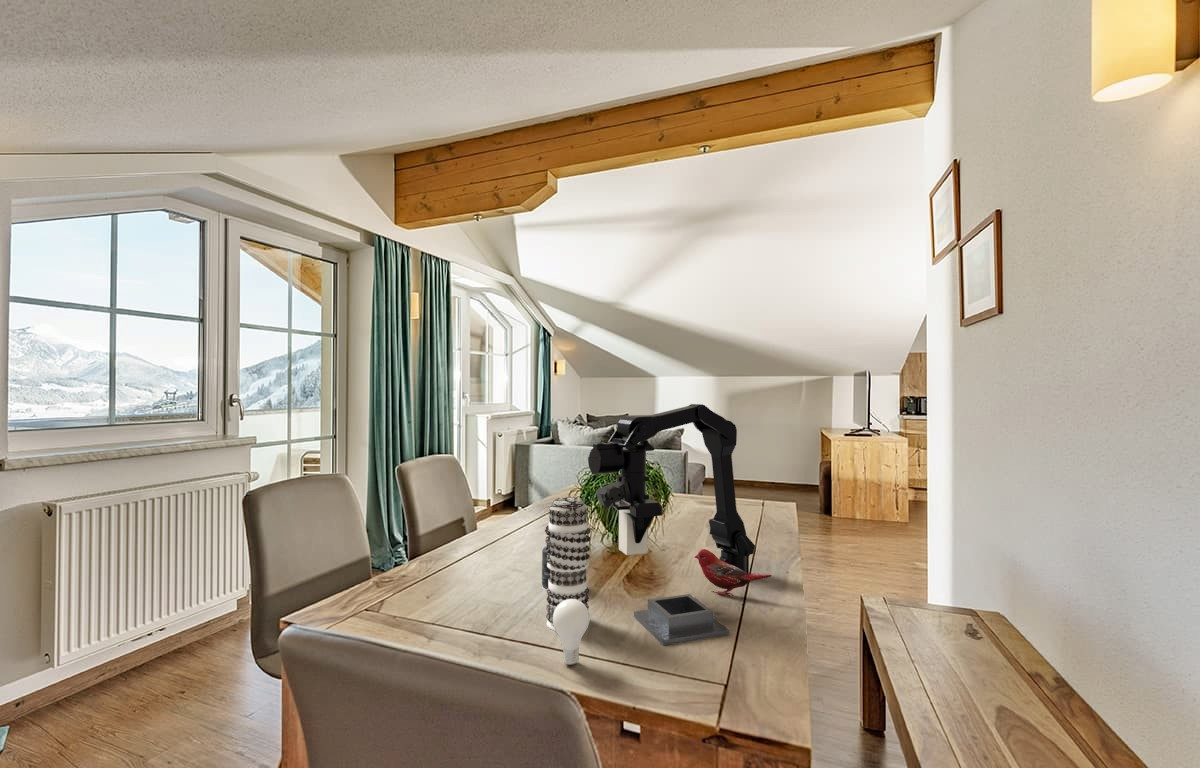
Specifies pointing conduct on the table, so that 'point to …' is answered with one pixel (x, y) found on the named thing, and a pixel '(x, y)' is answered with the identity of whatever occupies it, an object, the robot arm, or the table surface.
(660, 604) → the square socket
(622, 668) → the table surface
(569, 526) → the decorative candle
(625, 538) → the square peg
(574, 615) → the lightbulb
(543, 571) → the pill bottle
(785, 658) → the table surface
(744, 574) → the decorative bird figurine
